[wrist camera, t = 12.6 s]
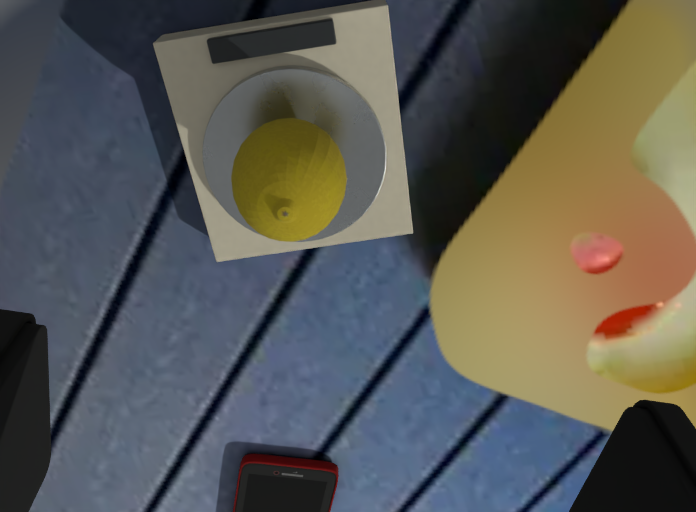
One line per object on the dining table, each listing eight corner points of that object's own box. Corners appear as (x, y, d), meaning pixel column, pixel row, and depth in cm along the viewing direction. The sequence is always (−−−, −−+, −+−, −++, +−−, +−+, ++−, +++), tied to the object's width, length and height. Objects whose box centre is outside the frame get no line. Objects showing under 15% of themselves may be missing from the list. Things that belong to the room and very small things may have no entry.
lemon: (364, 137, 34) (374, 199, 27) (307, 213, 36) (303, 290, 30) (276, 77, 33) (263, 128, 26) (222, 162, 35) (196, 229, 28)
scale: (161, 34, 34) (148, 46, 32) (384, -2, 34) (389, 7, 31) (221, 244, 41) (214, 269, 38) (409, 217, 40) (414, 239, 38)
